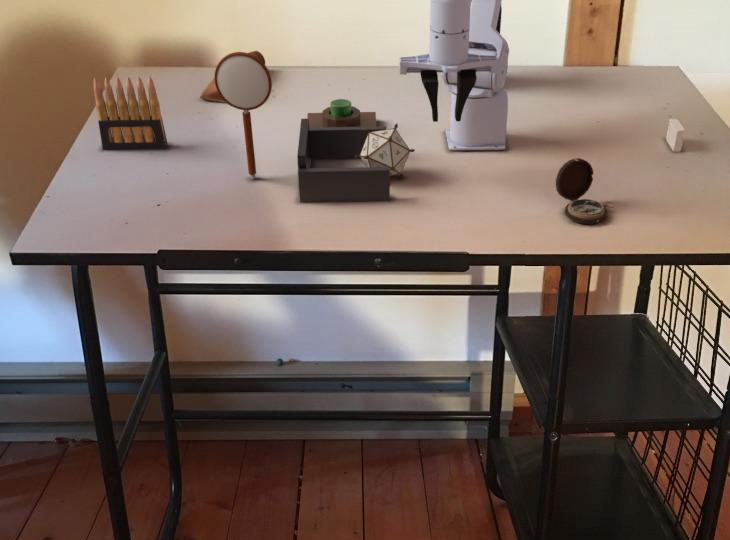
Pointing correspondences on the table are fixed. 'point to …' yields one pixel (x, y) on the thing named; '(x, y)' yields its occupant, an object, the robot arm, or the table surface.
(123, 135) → the ammunition clip
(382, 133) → the game die
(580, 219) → the compass
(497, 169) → the table surface
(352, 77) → the table surface
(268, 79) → the magnifying glass
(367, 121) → the box
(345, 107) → the button
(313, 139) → the cubby
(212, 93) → the sunglasses case
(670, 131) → the eraser
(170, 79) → the table surface
